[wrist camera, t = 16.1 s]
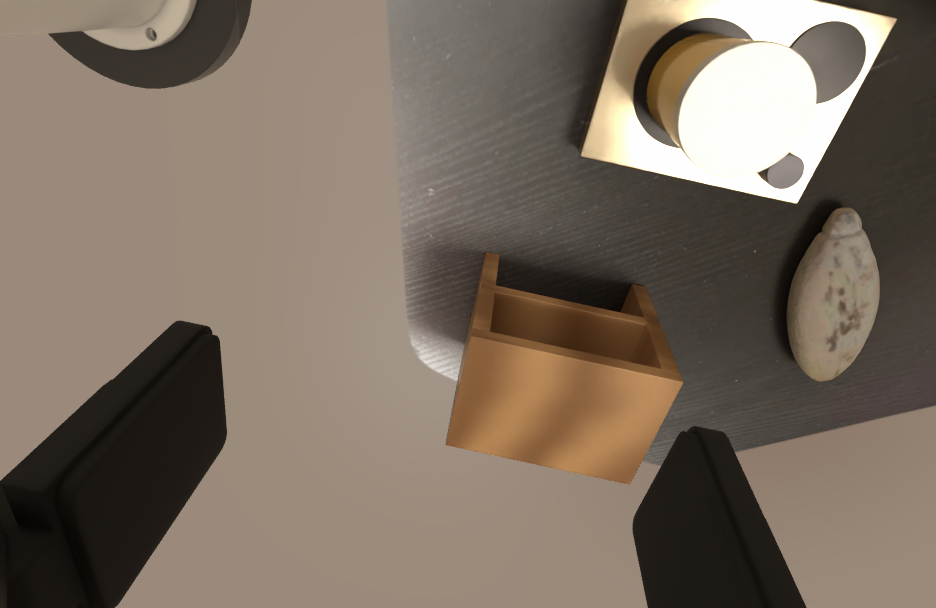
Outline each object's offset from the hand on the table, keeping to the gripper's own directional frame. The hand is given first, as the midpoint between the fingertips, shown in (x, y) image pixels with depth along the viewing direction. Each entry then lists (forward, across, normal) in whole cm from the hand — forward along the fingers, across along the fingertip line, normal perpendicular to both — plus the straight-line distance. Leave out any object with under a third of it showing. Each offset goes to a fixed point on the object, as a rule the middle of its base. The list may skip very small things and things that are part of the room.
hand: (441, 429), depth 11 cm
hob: (+33, -14, -5) cm, 36 cm away
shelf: (+33, -8, +16) cm, 38 cm away
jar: (+30, -12, -5) cm, 33 cm away
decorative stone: (+33, -29, +8) cm, 45 cm away
